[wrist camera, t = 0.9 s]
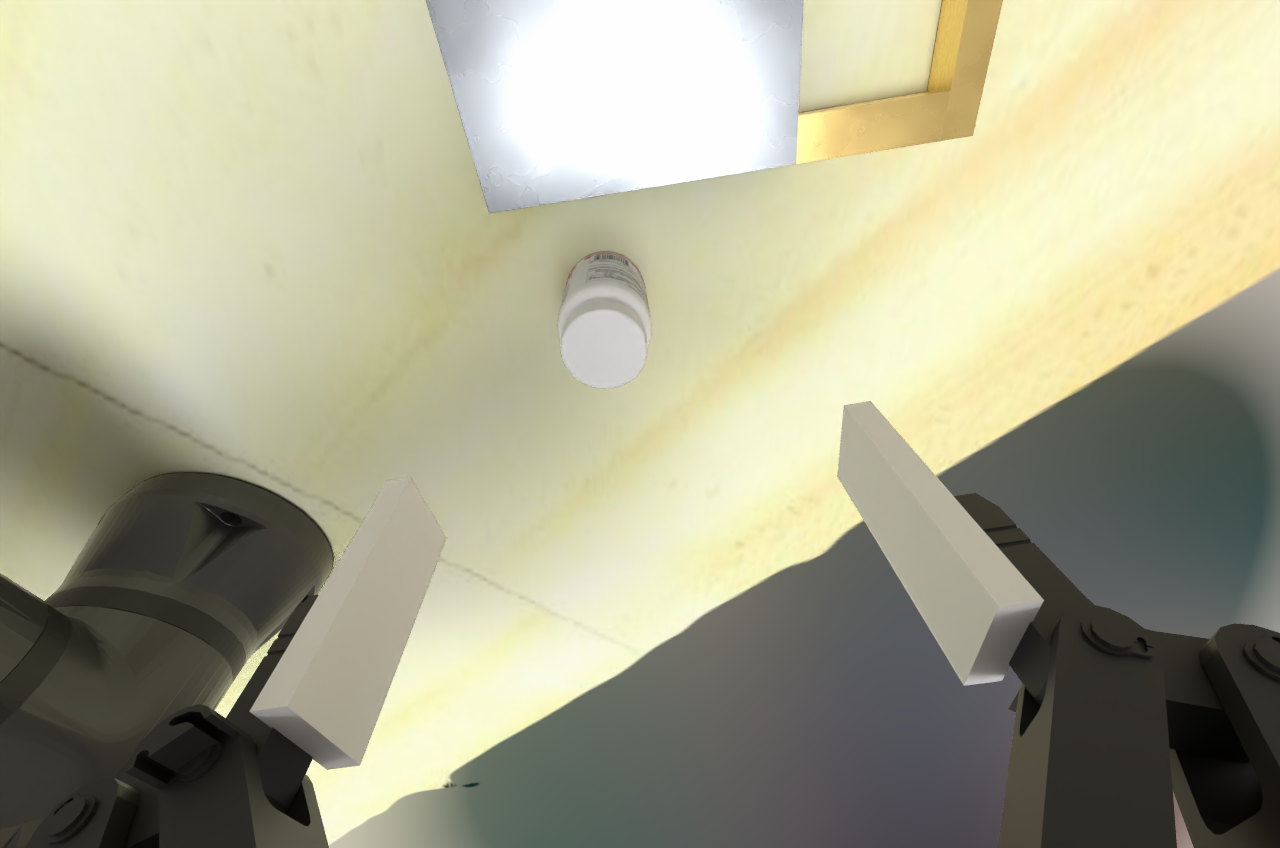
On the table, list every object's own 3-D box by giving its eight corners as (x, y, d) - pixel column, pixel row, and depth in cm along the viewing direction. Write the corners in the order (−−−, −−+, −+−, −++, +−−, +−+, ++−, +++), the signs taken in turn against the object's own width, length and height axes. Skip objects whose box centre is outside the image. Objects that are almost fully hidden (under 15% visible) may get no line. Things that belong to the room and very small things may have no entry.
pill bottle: (603, 342, 30) (599, 413, 23) (550, 286, 28) (528, 346, 21) (661, 295, 29) (676, 357, 22) (610, 232, 27) (608, 278, 20)
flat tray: (497, 206, 26) (489, 213, 24) (415, -82, 19) (396, -99, 18) (948, 133, 24) (972, 135, 23) (1013, -196, 18) (1053, -226, 17)
